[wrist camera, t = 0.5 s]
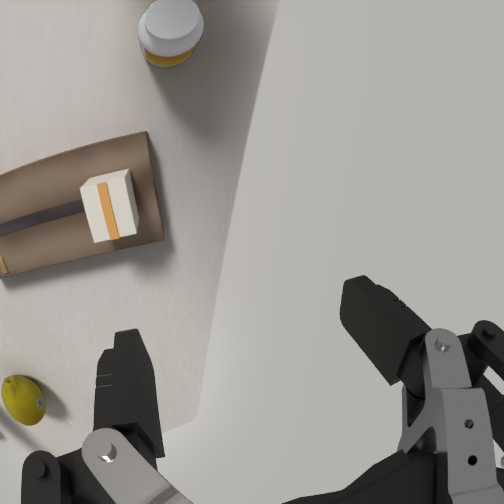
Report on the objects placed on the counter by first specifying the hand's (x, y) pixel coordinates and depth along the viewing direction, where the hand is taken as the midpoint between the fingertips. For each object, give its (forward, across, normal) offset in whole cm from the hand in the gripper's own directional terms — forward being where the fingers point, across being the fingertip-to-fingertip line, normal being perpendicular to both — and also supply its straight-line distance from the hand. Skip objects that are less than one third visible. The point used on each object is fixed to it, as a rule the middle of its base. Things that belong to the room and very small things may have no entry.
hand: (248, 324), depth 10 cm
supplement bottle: (+24, 0, -14) cm, 28 cm away
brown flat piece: (+24, +15, 0) cm, 28 cm away
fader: (+21, +7, 0) cm, 22 cm away
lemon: (+24, +34, +27) cm, 50 cm away
